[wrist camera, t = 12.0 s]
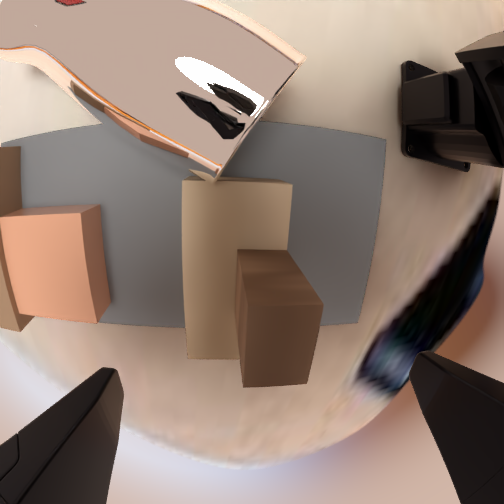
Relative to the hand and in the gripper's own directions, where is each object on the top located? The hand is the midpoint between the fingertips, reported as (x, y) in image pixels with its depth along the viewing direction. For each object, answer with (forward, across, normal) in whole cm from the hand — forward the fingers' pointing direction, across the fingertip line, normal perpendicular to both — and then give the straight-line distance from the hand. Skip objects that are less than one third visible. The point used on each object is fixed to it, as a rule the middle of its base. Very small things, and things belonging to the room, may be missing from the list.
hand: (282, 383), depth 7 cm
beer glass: (+7, +13, -15) cm, 21 cm away
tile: (+9, +11, 0) cm, 15 cm away
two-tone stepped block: (+9, +1, 0) cm, 9 cm away
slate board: (+10, +4, -2) cm, 11 cm away
